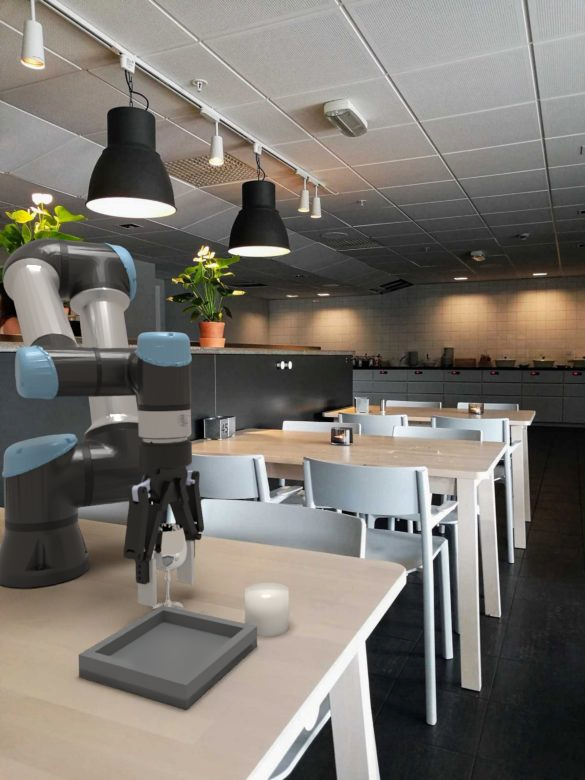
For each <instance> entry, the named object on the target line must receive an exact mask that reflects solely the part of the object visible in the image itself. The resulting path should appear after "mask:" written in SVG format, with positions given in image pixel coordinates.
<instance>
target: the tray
mask: <svg viewBox="0 0 585 780" xmlns="http://www.w3.org/2000/svg"><path fill="white" fill-rule="evenodd" d="M256 647H258V636H257V626H255V625H250V624H245V622H241V621H236V620H232V619H227V618H222V617H218V616H213V615H210V614H209V615H208V614H203V613H199V612H194V611H189V610H185V609H182V610H181V609H177V608H172V607H167V606H163V605H161V606H160V607H158V608H156V609H155V610H153V611H150V612H148V613H146V614H144V615H143V616H141V617H140V618H138V619H136V620H134V621H133V622H132V623H129V624H127V625H126V626H124V627H122V628H121V629H119V630H118V631H116V632H114V633H113V634H111V635H109V636H107V637H106V638H104V639H102V640H101V641H99V642H98V643H96V644H94V645H92V646H90V647H89V648H87V649H85V650H84V651H82V652H80V653H78V677H79V678H82V679H85V680H88V681H92V682H94V683H98V684H102V685H105V686H108V687H111V688H114V689H117V690H121V691H124V692H127V693H130V694H134V695H137V696H141V697H144V698H147V699H149V700H153V701H157V702H159V703H163V704H166V705H170V706H173V707H177V708H179V709H182V710H188V709H189V708H190V707H191V706H193V704H195V703H196V702H197V701H199V700H200V698H201V697H203V696H204V695H205V694H206V693H207V692H208V691H209V690H210V689H211V688H213V686H215V685H216V684H217V683H218V682H219V681H220V680H222V678H224V677H225V676H226V675H228V673H229V672H230V671H232V669H233V668H235V667H236V666H237V665H238V664H239V663H240V662H241V661H242V660H244V659H245V658H246V657H247V656H248V655H249V654H250V653H251V652H252V651H254V650H255V649H256Z"/></svg>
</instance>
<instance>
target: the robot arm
mask: <svg viewBox="0 0 585 780" xmlns="http://www.w3.org/2000/svg"><path fill="white" fill-rule="evenodd" d="M136 272H137V271H136V267H135V264H134V259H133V258H132V256H131V254H130V252H129V251H128V250H127V249H126V248H124V247H123V246H120V245H116V244H110V243H107V242H101V243H96V242H89V241H88V242H87V241H79V240H69V239H59V238H51V237H47V238H46V237H45V238H38V239H35V240H31V241H29V242H27V243H24V244H23V245H21V246H20V247H17V249H15V250H14V251H13V252H12V253H11V255H9V257H8V258H7V260H6V261H5V264H4V266H3V269H2V284H3V288H4V290H5V292H6V294H7V296H8V297H9V298H10V299H11V300H12V301H13V303H14V307H15V311H16V316H17V320H18V324H19V329H20V332H21V336H22V341H23V345H24V346H23V347H20V348H18V349H17V351H16V352H15V358H14V360H15V361H14V376H15V378H14V379H15V384H16V391H17V393H18V395H19V396H21V398H24V399H25V398H26V399H43V400H52V399H67V398H68V399H69V398H87V397H88V402H89V408H90V409H89V411H90V419H91V425H90V427H88V429H87V430H86V431H85V432H84V441H78V438H77V436H76V434H73V433H61V434H51V435H45V436H38V437H34V438H29V439H25V440H22V441H18V442H15V443H14V444H11V445H10V446H8V447H7V448H6V450H5V451H4V454H3V469H2V470H3V471H2V473H1V474H2V475H1V476H2V477H3V493H4V495H3V498H4V500H3V501H4V534H3V537H2V541H1V544H0V585H1V586H5V587H10V588H38V587H46V586H51V585H55V584H56V585H57V584H60V583H64V582H66V581H70V580H73V579H77V578H78V577H79V576H82V575H83V574H85V573H87V571H88V570H89V569H90V564H91V563H90V552H89V549H88V548H87V547H86V543H85V540H84V537H83V534H82V530H81V529H80V525H79V508H80V509H81V508H85V507H87V508H88V507H94V506H96V507H97V506H102V505H112V504H118V503H126V502H127V503H128V512H127V517H126V518H127V520H126V528H125V538H124V548H123V558H124V559H127V560H132V561H133V560H134V562H135V582H136V583H137V604H138V605H143V606H148V607H152V608H153V607H154V606H156V605H157V604H158V599H157V597H158V592H157V591H158V590H157V589H158V588H157V587H158V585H157V584H158V583H157V570H156V559H154V558H152V555H153V551H154V547H155V543H156V539H157V535H158V531H159V527H160V524H162V523H161V522H162V518H163V514H164V513H165V512H166V511H167V509H168V505H169V506H170V509H171V512H172V515H173V519H174V521H175V524H180V525H182V526H183V529H184V533H185V537H186V542H187V555H186V559H185V561H184V563H183V564H182V565H181V566H180V567H179V568H177V569H176V571H177V572H176V574H177V575H176V576H177V578H176V579H177V583H181V584H186V585H194V584H195V579H196V578H195V576H196V575H195V572H196V571H195V557H196V541H200V540H201V539H202V536H203V535H202V533H203V532H204V530H205V523H204V516H203V507H202V499H201V492H200V478H201V477H200V476H201V474H200V471H198V470H191V469H190V470H188V469H187V467H189V466H191V464H192V463H193V444H192V443H193V442H192V441H191V440H190V439H189V437H190V436H191V435H192V412H191V411H192V361H193V360H192V359H193V357H192V353H191V340H190V337H189V336H188V335H187V333H184V332H175V331H150V332H149V331H148V332H142V333H140V334H139V335H138V337H137V344H136V345H137V346H136V347H129V342H128V341H129V340H128V335H127V334H128V333H127V327H126V322H125V321H126V319H125V313H124V312H125V311H126V310H127V309H128V308H129V306H130V302H131V301H132V300H133V299H134V298H135V296H136V292H137V286H138V285H137V281H136V278H137V273H136ZM62 299H68V300H69V308H70V309H71V310H72V312H74V313H75V314H76V315H78V316H79V323H80V330H81V331H80V333H81V341H82V346H80V347H79V345H78V343H77V340H76V337H75V335H74V332H73V329H72V327H71V324H70V321H69V318H68V316H67V313H66V310H65V308H64V305H63V302H62ZM137 396H138V397H137ZM137 398H138V399H137ZM137 400H138V401H137ZM137 402H138V405H137Z"/></svg>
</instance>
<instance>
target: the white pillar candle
mask: <svg viewBox="0 0 585 780" xmlns="http://www.w3.org/2000/svg"><path fill="white" fill-rule="evenodd" d="M244 623H245V624H250V625H255V626H257V637H262V638H270V637H276V636H280V635H282V634H283V635H284V633H286V632H287V631H288V630H289V629H290V589H289V587H287V585H284V584H282V583H277V582H258V583H255V584H251V585H249V586H248V587H246V588H245V590H244Z"/></svg>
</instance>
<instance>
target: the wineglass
mask: <svg viewBox="0 0 585 780" xmlns="http://www.w3.org/2000/svg"><path fill="white" fill-rule="evenodd" d="M186 555H187V542H186V537H185V533H184V529H183V526H182V525H180V524H176V522H174V523H173V522H171V523H170V522H165V523H160V527H159V531H158V535H157V539H156V543H155V547H154V551H153V555H152V558H154V559H156V571H158V572H164V575H163V580H164V583H165V601H163V602H159V603H157V605H156V606H154V607H152V611H153V610H155V609H156V608H158V607H160V606H161V605H163V606H167V607H172V608H177V609H181V610H184V604H183V603H181V602H178V601H174V600H173V601H172V600H171V597H170V584H171V583H170V582H171V580H172V575H171V573H170V572H172V571H175V570H177V568H179V567H180V566H181V565H182V564H183V563H184V561H185V559H186Z"/></svg>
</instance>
